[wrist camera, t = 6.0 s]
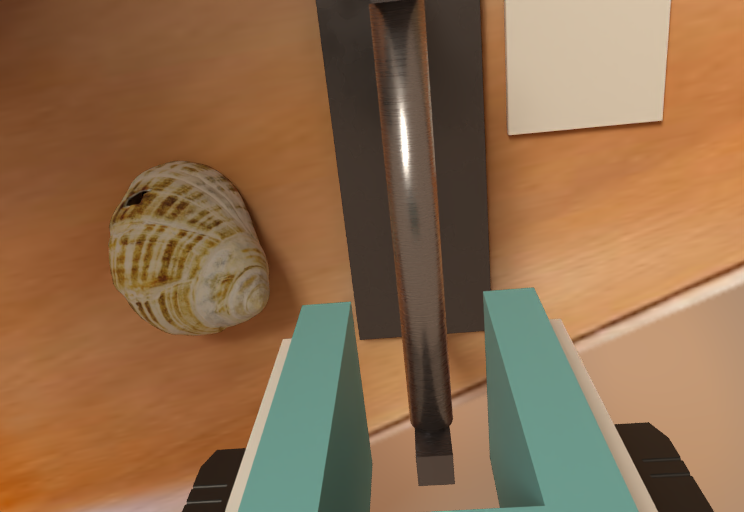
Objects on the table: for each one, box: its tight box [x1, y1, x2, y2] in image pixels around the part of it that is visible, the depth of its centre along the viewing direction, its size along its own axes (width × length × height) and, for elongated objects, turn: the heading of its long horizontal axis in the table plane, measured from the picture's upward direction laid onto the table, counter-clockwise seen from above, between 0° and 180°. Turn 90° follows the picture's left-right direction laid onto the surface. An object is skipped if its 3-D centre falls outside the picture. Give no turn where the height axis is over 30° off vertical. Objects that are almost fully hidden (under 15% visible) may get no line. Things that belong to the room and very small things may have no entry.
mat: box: [504, 0, 671, 135], centre depth 35 cm, size 10×9×1 cm
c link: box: [238, 288, 639, 512], centre depth 12 cm, size 5×6×8 cm
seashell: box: [108, 161, 270, 336], centre depth 38 cm, size 10×10×10 cm
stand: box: [316, 0, 491, 486], centre depth 31 cm, size 24×9×17 cm, turn 6°
